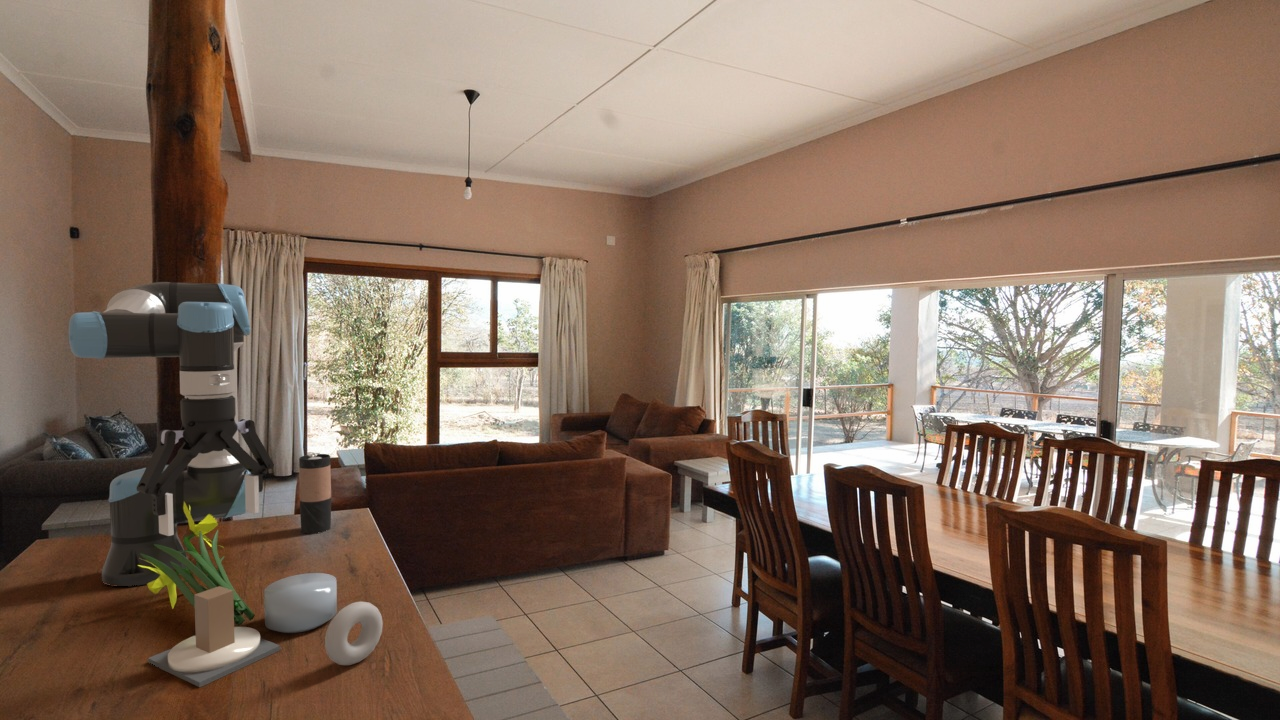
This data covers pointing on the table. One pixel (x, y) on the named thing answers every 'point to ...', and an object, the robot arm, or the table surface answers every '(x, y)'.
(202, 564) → the daffodil flowers
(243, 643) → the lid
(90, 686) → the table surface
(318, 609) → the light blue short cylinder
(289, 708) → the table surface
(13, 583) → the table surface
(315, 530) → the travel mug
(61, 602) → the table surface
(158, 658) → the mat
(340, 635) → the donut
